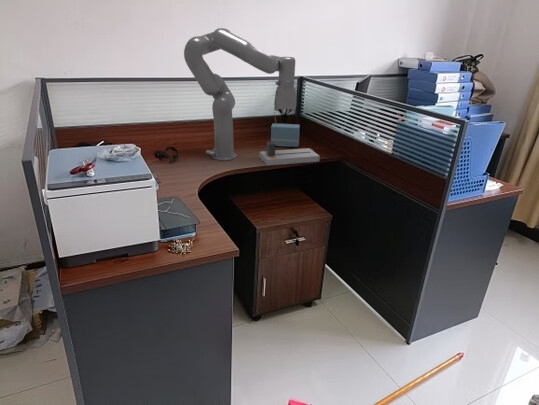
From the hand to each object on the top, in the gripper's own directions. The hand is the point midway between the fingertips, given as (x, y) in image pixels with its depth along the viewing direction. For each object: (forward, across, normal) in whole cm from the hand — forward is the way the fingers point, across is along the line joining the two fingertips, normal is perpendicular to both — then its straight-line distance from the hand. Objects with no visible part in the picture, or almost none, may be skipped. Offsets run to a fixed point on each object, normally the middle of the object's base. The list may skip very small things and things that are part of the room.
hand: (284, 122), depth 194 cm
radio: (+20, +10, +25) cm, 33 cm away
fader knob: (+16, -6, 0) cm, 17 cm away
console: (+19, +4, 0) cm, 20 cm away
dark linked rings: (+21, -58, +11) cm, 62 cm away
